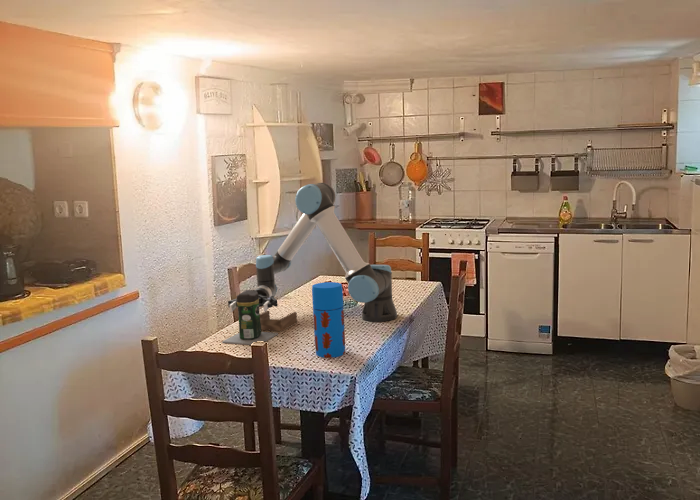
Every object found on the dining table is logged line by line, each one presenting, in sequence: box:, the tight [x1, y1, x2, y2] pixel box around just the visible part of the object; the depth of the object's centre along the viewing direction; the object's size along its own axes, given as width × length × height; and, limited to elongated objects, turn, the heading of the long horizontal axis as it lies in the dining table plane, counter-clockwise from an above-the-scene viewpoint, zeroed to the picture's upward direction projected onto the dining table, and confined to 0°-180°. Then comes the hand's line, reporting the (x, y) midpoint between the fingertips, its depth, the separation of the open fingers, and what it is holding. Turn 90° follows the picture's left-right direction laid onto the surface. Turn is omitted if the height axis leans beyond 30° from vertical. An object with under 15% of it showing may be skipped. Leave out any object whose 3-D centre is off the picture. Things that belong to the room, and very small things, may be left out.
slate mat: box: [221, 331, 279, 346], centre depth 265 cm, size 16×16×1 cm
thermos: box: [311, 281, 346, 359], centre depth 240 cm, size 11×11×25 cm
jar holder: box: [260, 310, 298, 332], centre depth 283 cm, size 14×14×4 cm
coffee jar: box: [236, 289, 263, 340], centre depth 264 cm, size 10×8×19 cm
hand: (247, 308), depth 262 cm, fingers open, 13 cm apart
